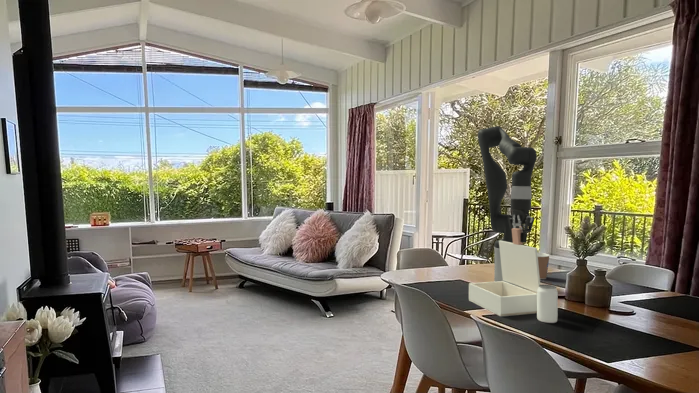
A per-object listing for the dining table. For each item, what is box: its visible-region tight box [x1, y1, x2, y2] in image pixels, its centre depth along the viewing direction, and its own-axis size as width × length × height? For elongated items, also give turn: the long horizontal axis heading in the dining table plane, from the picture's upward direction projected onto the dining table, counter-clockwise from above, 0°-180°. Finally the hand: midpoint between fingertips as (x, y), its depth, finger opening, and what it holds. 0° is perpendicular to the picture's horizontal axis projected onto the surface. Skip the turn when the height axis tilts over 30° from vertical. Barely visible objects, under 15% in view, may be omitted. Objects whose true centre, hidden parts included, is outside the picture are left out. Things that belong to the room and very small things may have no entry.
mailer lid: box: [499, 228, 541, 293], centre depth 164 cm, size 23×22×2 cm
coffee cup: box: [537, 252, 551, 280], centre depth 213 cm, size 10×10×12 cm
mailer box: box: [468, 281, 537, 318], centre depth 163 cm, size 16×22×7 cm
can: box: [536, 284, 559, 324], centre depth 146 cm, size 6×6×12 cm
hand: (519, 241), depth 164 cm, fingers closed on mailer lid, 3 cm apart
